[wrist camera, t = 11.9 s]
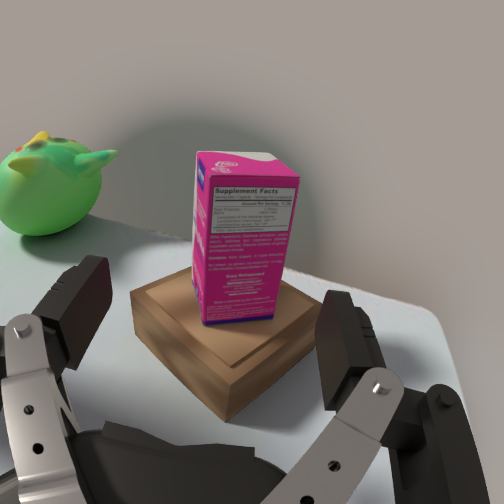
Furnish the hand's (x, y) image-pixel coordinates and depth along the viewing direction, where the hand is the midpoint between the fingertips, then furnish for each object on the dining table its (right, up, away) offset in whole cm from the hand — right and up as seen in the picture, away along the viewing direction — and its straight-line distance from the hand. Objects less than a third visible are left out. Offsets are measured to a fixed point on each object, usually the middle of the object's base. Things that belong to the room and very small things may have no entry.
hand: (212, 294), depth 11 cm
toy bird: (-29, +5, +31) cm, 43 cm away
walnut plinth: (-1, -7, +17) cm, 19 cm away
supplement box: (0, -3, +15) cm, 15 cm away
